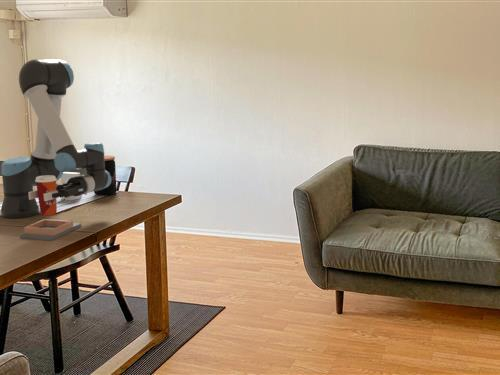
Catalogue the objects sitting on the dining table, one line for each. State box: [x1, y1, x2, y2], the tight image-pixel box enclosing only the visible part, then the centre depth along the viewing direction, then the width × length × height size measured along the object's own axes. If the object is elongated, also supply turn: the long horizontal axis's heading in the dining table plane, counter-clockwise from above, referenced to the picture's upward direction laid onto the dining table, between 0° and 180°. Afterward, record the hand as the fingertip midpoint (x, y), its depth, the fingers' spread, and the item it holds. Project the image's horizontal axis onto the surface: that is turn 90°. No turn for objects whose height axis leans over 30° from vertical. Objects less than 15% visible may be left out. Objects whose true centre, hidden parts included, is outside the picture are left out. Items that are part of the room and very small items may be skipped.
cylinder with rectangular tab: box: [60, 171, 83, 201], centre depth 287 cm, size 9×9×12 cm
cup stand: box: [19, 218, 82, 242], centre depth 230 cm, size 13×20×3 cm, turn 164°
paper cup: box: [35, 175, 58, 217], centre depth 226 cm, size 8×8×14 cm
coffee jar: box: [93, 155, 117, 197], centre depth 295 cm, size 11×11×18 cm
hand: (37, 196), depth 222 cm, fingers closed on paper cup, 7 cm apart
